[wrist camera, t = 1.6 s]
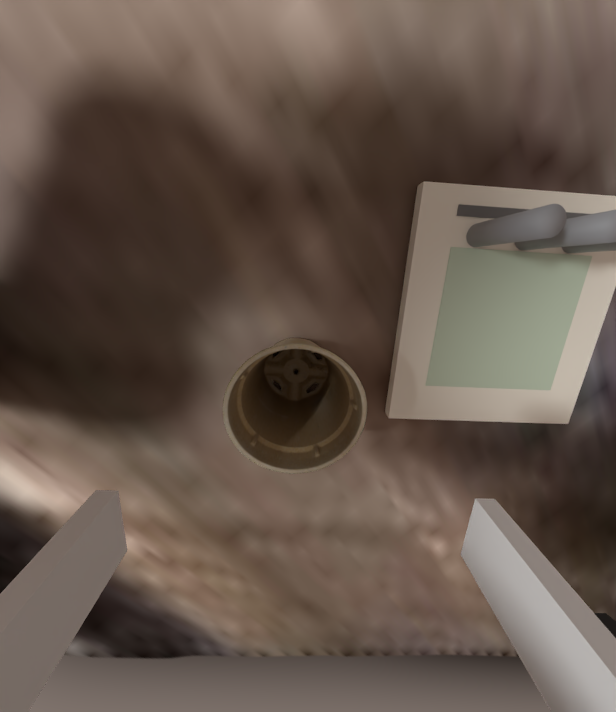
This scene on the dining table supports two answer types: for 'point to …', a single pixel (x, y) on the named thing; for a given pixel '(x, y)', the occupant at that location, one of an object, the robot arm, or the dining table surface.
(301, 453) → the flower pot
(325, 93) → the dining table surface
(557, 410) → the board
